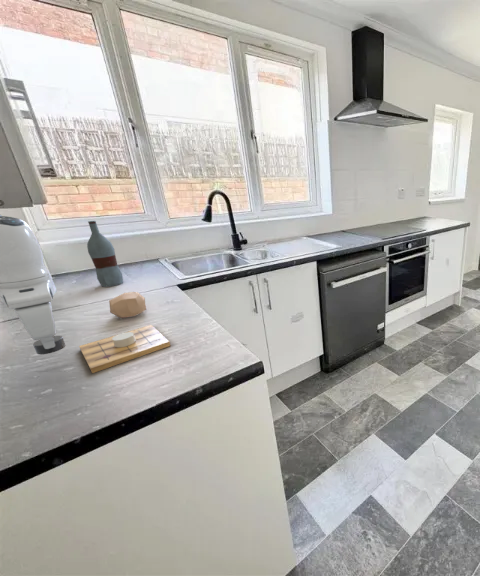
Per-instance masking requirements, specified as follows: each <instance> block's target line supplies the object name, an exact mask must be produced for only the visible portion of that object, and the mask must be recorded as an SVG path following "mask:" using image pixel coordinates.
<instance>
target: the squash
mask: <svg viewBox="0 0 480 576" xmlns="http://www.w3.org/2000/svg"><path fill="white" fill-rule="evenodd" d="M108 303H109V312H110V313H111V314H112V315H114V316H116V317H117V318H119V319H126V318H132V317H136V316H137V315H140V314H142V313H143V312H145V311H147V306H146V305H147V304H146V297H144V295H141V293H139V292H138V291H129V292H124V293H123V292H122V293H121V294H119V295H117V296H115V297H113V298H111V299H109V300H108Z"/></svg>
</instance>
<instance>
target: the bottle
mask: <svg viewBox="0 0 480 576" xmlns="http://www.w3.org/2000/svg"><path fill="white" fill-rule="evenodd" d="M87 223H88V225H89V230H90V232H91V234H90V237H89V238H88V241H87V244H86V245H87V246H86V248H87V253H88V255H89V257H90V259H91V261H92V263H93V265H94V268H95V273H96V274H95V275H96V279H97V281H98V283H99V285H100V286H101V287H103V288H110V287H116V286H119V285H122V284H123V283H124V276H123V273H122V271H121V268H120V267H119V265H118V261H117V257H116V251H115V248H114V246H113V243H112V242H111V240H109V239H108V238H107V237H105V235H103V234H102V233H100V230H99V226H98V224H97V221H96V220H88V221H87Z"/></svg>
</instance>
